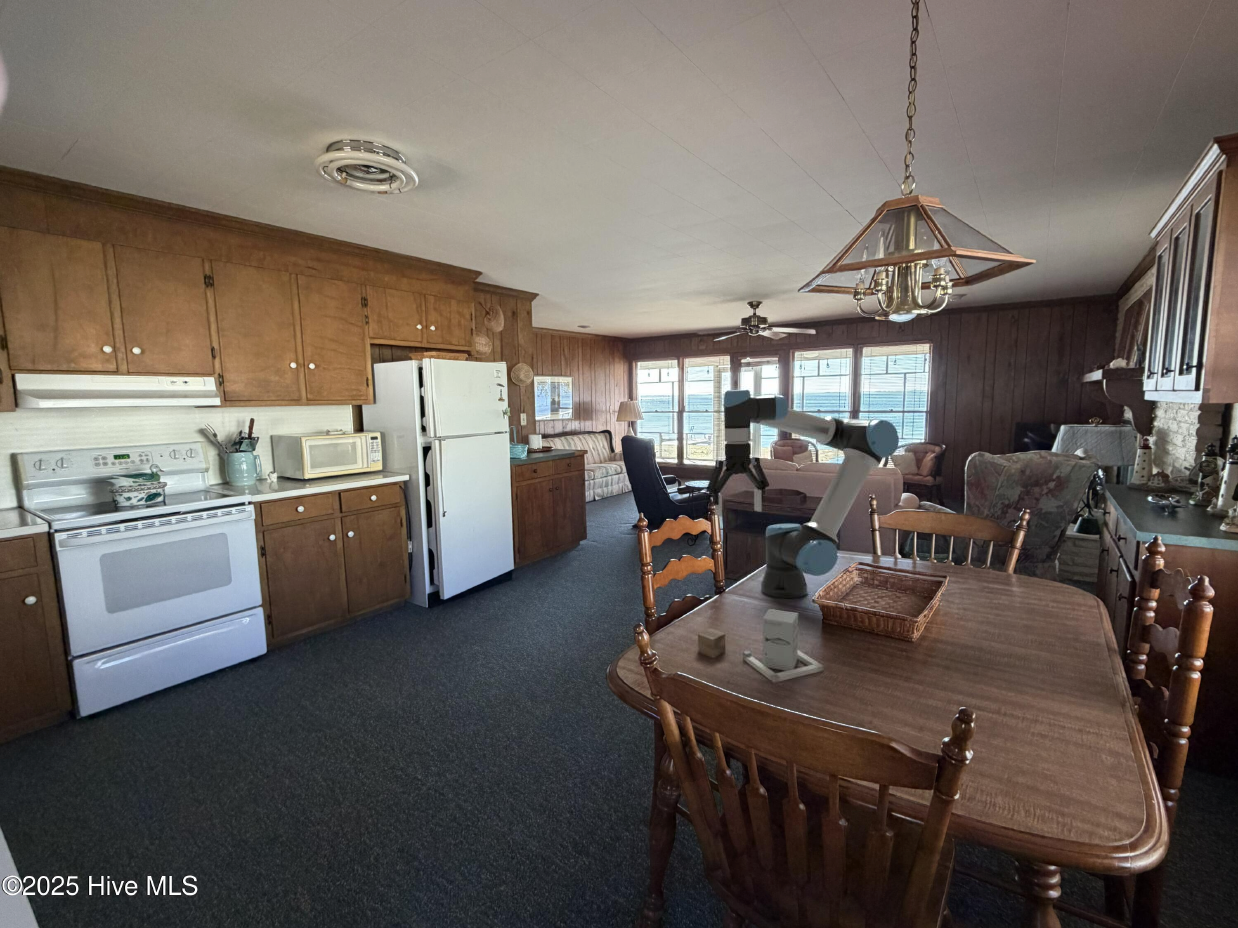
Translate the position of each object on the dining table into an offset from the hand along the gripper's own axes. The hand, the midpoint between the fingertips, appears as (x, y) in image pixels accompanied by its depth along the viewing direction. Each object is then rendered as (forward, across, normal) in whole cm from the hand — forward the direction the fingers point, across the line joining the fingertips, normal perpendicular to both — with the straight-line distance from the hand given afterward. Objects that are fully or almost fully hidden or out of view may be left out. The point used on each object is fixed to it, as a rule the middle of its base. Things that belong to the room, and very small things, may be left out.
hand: (738, 513), depth 165 cm
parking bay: (+32, +8, +31) cm, 45 cm away
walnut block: (+32, +20, +18) cm, 42 cm away
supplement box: (+32, +8, +31) cm, 45 cm away
